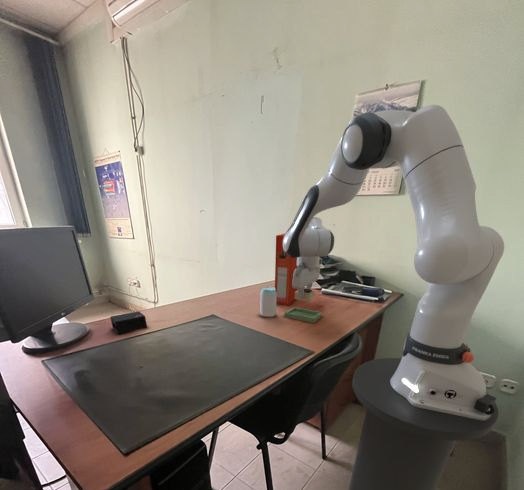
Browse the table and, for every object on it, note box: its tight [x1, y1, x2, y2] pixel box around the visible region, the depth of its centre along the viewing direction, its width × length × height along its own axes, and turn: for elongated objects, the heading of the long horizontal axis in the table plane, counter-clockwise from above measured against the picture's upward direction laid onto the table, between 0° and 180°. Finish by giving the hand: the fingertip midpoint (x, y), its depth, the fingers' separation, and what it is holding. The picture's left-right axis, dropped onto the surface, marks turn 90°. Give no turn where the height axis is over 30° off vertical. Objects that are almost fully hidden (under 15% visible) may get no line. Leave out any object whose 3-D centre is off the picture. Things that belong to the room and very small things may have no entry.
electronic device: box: [110, 310, 148, 335], centre depth 109 cm, size 7×11×5 cm
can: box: [259, 286, 277, 318], centre depth 124 cm, size 7×7×12 cm
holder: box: [284, 306, 323, 324], centre depth 125 cm, size 14×10×2 cm
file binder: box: [274, 233, 298, 306], centre depth 141 cm, size 8×17×32 cm, turn 161°
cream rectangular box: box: [294, 288, 316, 302], centre depth 121 cm, size 7×5×4 cm
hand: (304, 295), depth 121 cm, fingers closed on cream rectangular box, 5 cm apart
